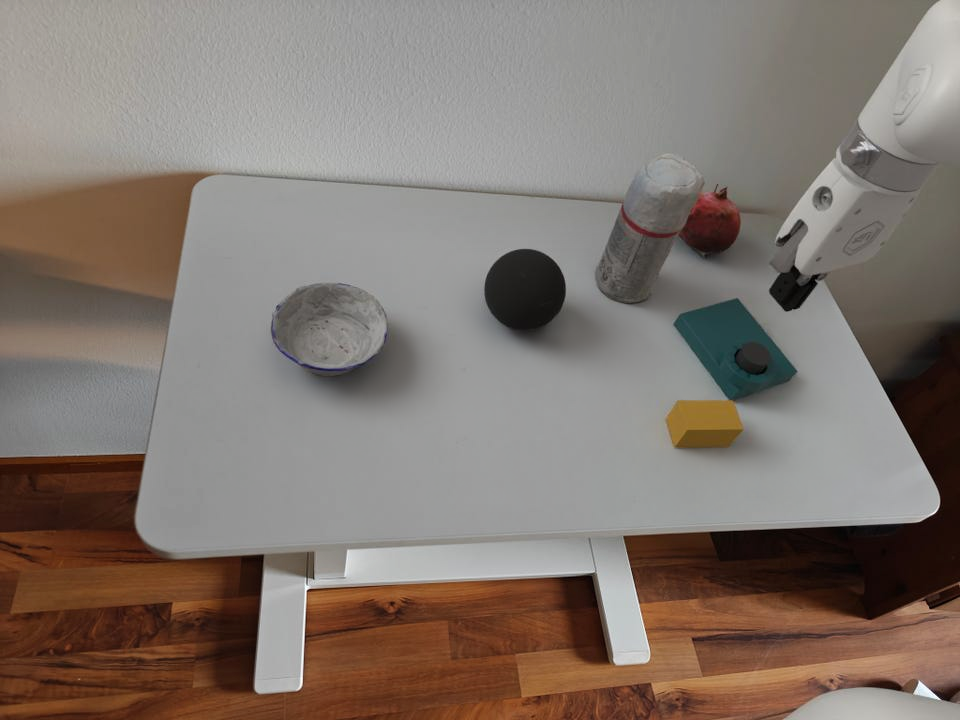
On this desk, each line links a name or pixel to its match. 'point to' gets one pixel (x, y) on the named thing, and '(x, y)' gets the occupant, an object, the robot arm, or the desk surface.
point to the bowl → (329, 327)
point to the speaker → (525, 289)
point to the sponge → (704, 423)
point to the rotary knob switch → (732, 347)
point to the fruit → (712, 223)
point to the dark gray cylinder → (753, 358)
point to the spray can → (648, 227)
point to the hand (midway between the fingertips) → (782, 300)
